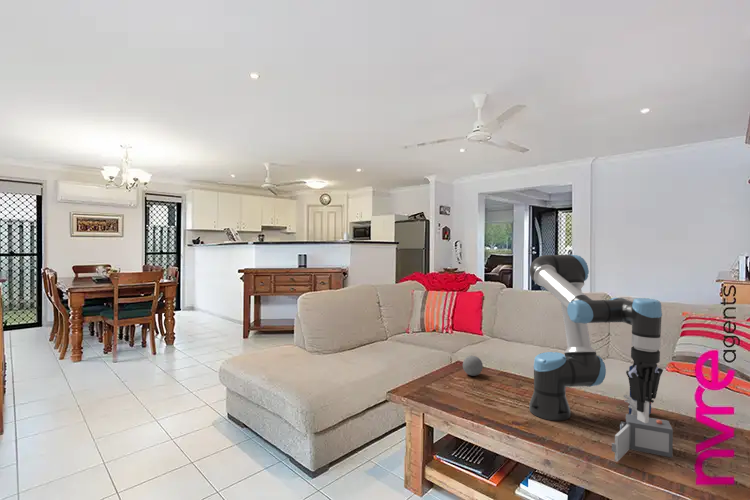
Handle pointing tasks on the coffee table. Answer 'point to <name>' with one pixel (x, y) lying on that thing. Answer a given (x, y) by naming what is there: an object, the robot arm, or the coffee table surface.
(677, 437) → the coffee table surface
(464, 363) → the decorative ball
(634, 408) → the figurine
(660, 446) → the camera body
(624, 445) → the door
